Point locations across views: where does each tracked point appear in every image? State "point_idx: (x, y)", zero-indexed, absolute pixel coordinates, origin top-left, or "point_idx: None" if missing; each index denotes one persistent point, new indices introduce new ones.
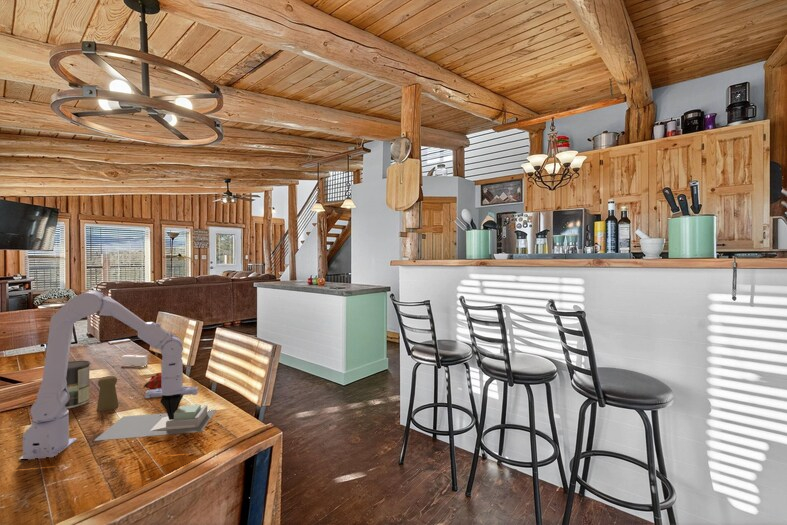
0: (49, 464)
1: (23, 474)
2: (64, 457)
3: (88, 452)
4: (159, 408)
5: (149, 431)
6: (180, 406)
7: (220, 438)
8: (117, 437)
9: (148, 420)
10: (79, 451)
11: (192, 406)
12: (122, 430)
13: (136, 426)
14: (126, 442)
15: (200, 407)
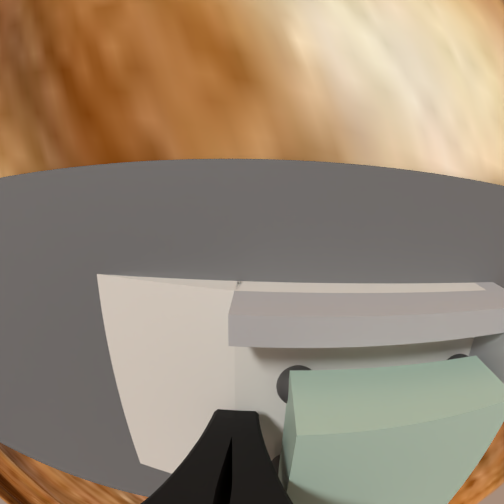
0: (13, 493)
1: (9, 500)
2: (10, 482)
3: (41, 491)
4: (19, 44)
5: (144, 467)
6: (299, 445)
7: (476, 495)
8: (40, 456)
9: (28, 305)
10: (12, 472)
11: (444, 445)
12: (1, 397)
13: (24, 377)
14: (106, 496)
15: (498, 383)
